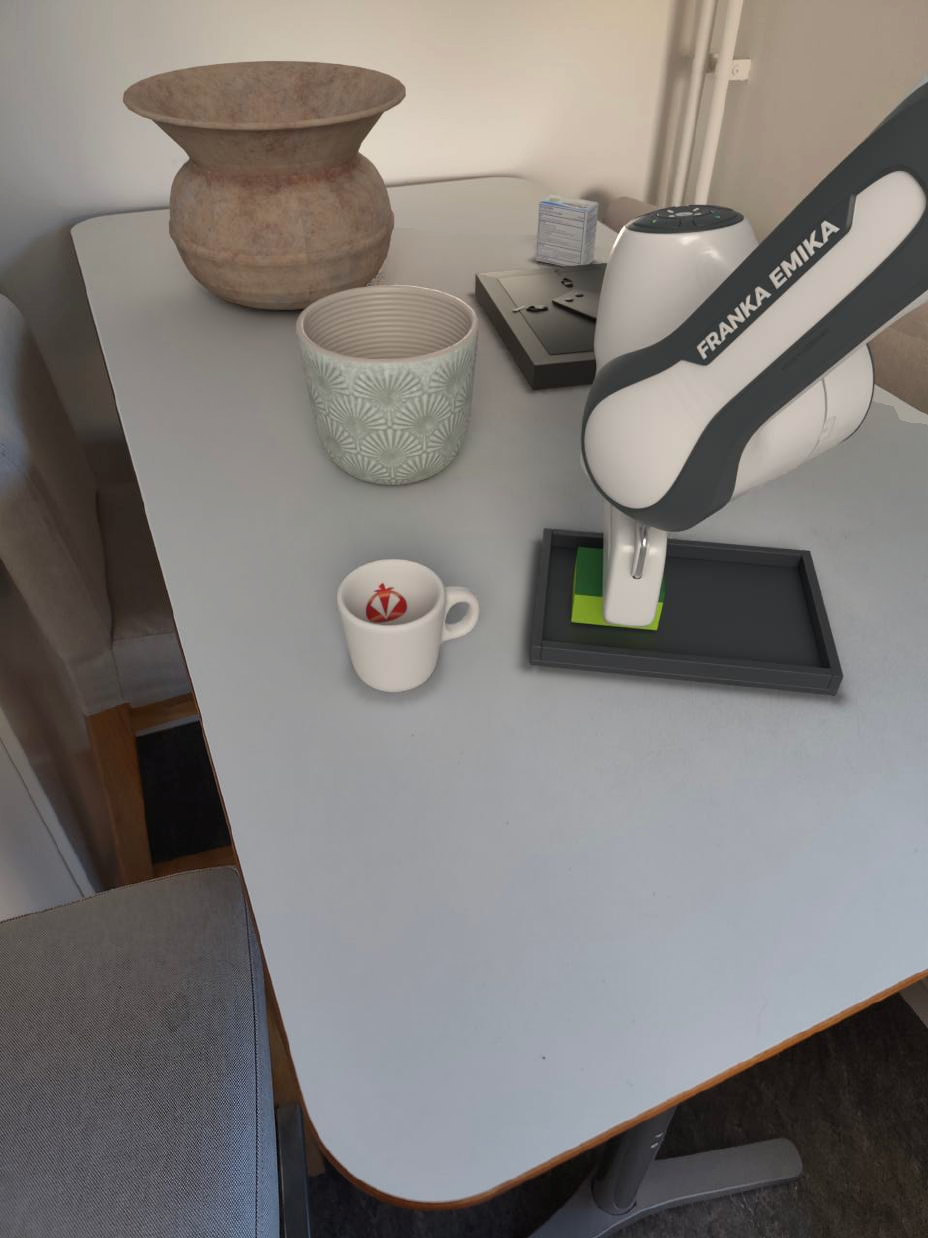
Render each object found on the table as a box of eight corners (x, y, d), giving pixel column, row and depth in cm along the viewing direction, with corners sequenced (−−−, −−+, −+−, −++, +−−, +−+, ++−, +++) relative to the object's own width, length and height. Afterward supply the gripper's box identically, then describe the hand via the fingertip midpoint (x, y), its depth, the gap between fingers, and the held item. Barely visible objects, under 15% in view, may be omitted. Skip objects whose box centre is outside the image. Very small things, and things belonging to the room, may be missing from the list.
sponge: (654, 590, 74) (662, 554, 72) (656, 630, 71) (665, 593, 68) (573, 583, 75) (577, 546, 72) (571, 622, 71) (575, 585, 69)
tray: (803, 568, 78) (810, 550, 77) (835, 695, 67) (844, 677, 65) (542, 545, 80) (543, 527, 79) (529, 665, 69) (531, 646, 67)
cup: (461, 618, 73) (462, 542, 67) (493, 684, 67) (497, 607, 62) (335, 645, 70) (325, 568, 65) (357, 716, 65) (349, 639, 59)
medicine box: (593, 262, 132) (600, 201, 126) (581, 271, 129) (587, 210, 124) (547, 252, 135) (551, 192, 129) (534, 261, 132) (538, 201, 127)
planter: (366, 406, 99) (356, 272, 89) (502, 442, 93) (508, 303, 83) (280, 480, 88) (257, 336, 77) (428, 526, 82) (425, 378, 72)
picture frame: (714, 370, 106) (629, 282, 127) (721, 338, 104) (633, 252, 124) (532, 389, 102) (475, 295, 123) (535, 356, 99) (475, 265, 120)
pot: (320, 232, 141) (302, 50, 124) (461, 295, 122) (463, 92, 106) (124, 285, 124) (72, 83, 107) (254, 369, 105) (217, 140, 88)
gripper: (697, 535, 54) (661, 685, 64) (680, 382, 69) (652, 521, 79) (597, 527, 55) (575, 677, 64) (600, 376, 70) (582, 515, 79)
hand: (617, 590), depth 72 cm, fingers closed on sponge, 5 cm apart
